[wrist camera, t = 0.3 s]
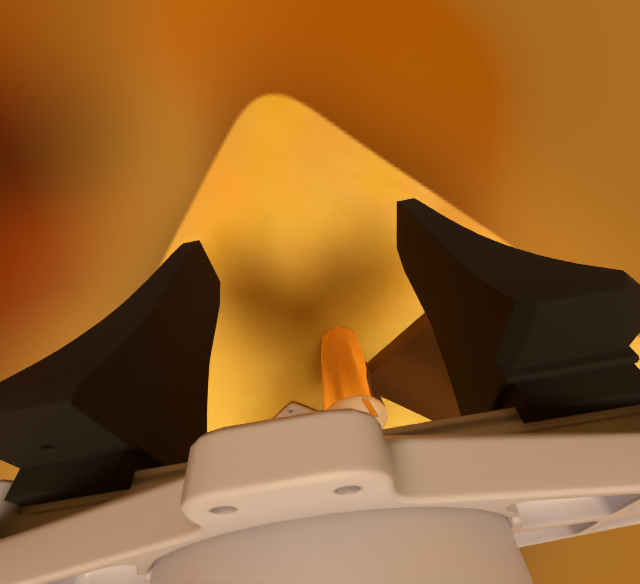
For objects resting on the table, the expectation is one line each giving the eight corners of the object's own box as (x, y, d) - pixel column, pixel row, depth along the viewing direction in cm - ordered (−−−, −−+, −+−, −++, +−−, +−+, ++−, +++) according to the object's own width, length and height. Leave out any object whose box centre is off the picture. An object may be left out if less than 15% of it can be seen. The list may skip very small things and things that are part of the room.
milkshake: (373, 317, 29) (409, 418, 21) (355, 359, 32) (380, 463, 24) (322, 310, 28) (340, 414, 20) (308, 355, 31) (319, 461, 23)
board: (447, 419, 40) (453, 430, 38) (354, 373, 33) (357, 385, 32) (545, 353, 34) (555, 363, 33) (457, 284, 28) (465, 294, 27)
